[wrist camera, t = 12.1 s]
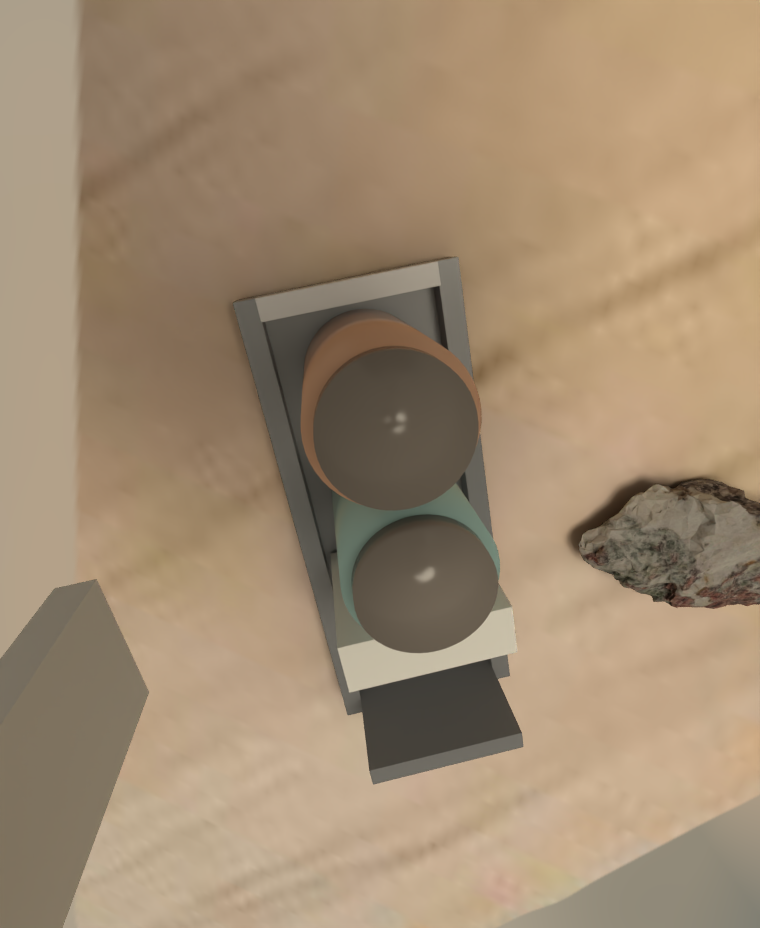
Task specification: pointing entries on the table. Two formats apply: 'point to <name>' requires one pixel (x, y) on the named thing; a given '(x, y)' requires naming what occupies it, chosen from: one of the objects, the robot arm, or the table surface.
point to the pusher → (384, 665)
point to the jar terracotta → (386, 411)
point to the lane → (310, 500)
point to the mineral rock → (683, 545)
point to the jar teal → (416, 571)
